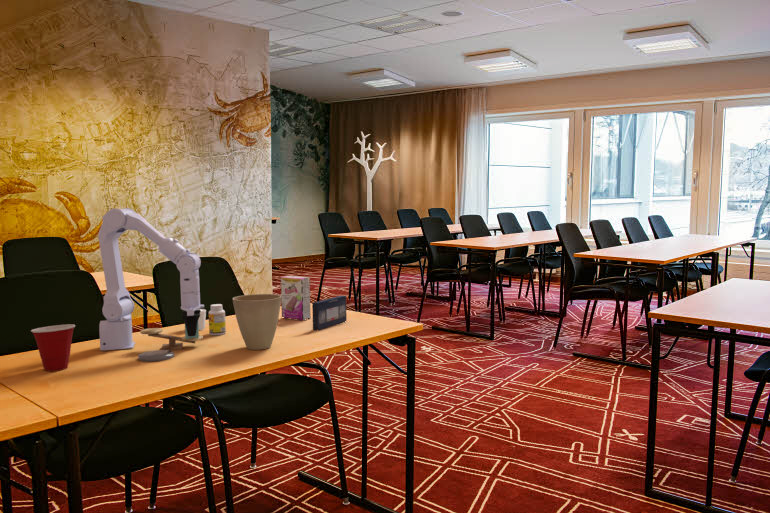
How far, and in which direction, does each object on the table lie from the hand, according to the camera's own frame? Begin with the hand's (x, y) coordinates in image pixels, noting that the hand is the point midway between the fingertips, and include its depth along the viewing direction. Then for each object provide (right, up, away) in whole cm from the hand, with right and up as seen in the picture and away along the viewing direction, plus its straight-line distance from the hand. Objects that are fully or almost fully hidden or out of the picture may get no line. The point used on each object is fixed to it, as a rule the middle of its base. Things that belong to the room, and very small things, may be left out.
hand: (192, 334), depth 194 cm
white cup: (-7, -2, +27) cm, 28 cm away
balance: (-6, -4, -1) cm, 7 cm away
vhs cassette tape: (+41, -1, +31) cm, 51 cm away
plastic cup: (-30, -7, -24) cm, 39 cm away
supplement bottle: (+3, -2, +19) cm, 19 cm away
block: (0, -1, 0) cm, 1 cm away
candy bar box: (+26, 0, +45) cm, 53 cm away
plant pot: (+21, -4, -2) cm, 22 cm away
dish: (-6, -5, -13) cm, 15 cm away
